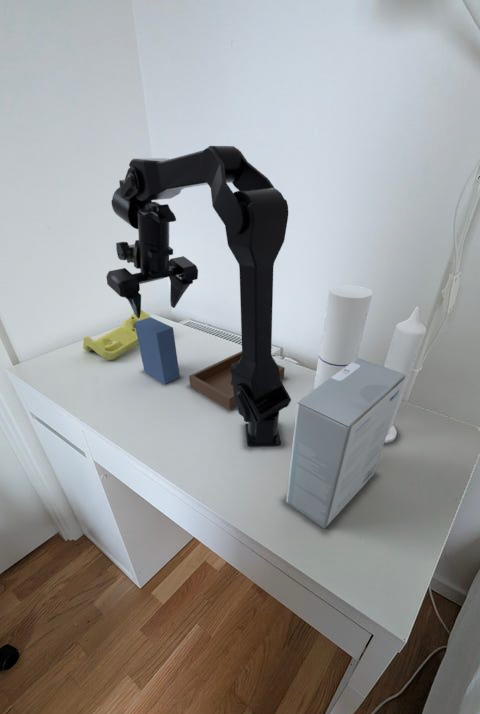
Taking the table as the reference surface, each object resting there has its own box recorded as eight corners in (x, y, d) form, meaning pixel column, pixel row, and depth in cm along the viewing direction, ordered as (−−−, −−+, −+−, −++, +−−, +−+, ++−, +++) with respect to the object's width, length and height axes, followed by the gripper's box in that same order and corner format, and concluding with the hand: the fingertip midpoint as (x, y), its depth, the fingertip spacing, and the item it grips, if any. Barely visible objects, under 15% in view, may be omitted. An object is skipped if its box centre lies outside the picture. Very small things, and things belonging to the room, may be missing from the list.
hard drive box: (335, 453, 62) (359, 356, 50) (374, 475, 58) (410, 374, 46) (283, 502, 54) (296, 399, 41) (324, 531, 50) (352, 426, 37)
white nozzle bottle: (379, 417, 71) (419, 296, 55) (403, 438, 66) (454, 311, 50) (351, 425, 69) (383, 302, 53) (373, 447, 64) (417, 318, 48)
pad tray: (244, 360, 91) (244, 349, 89) (283, 378, 83) (284, 367, 81) (190, 387, 81) (188, 375, 79) (229, 410, 73) (229, 398, 71)
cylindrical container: (305, 403, 75) (321, 287, 59) (333, 397, 77) (357, 283, 61) (320, 422, 70) (343, 300, 54) (350, 415, 71) (381, 295, 56)
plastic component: (109, 356, 88) (81, 332, 89) (108, 374, 94) (82, 352, 94) (161, 325, 100) (135, 304, 100) (157, 342, 106) (133, 323, 106)
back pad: (179, 377, 84) (173, 327, 76) (165, 384, 81) (156, 333, 73) (158, 365, 89) (150, 316, 81) (144, 371, 86) (134, 322, 78)
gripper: (170, 217, 73) (169, 286, 85) (86, 228, 63) (99, 304, 75) (202, 239, 68) (196, 308, 80) (117, 254, 59) (125, 330, 70)
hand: (155, 311), depth 77 cm, fingers open, 9 cm apart
